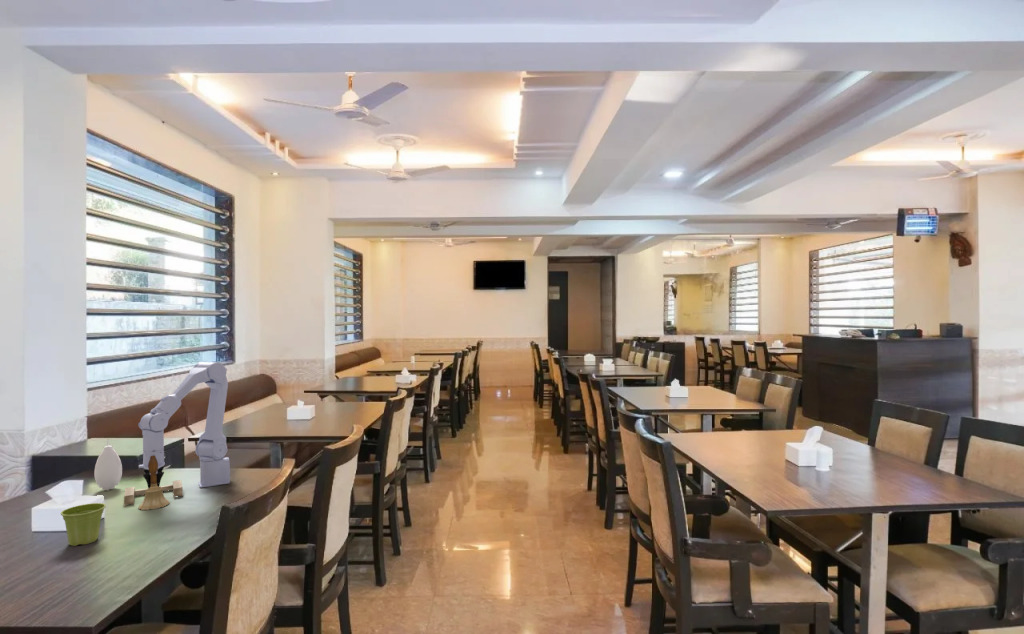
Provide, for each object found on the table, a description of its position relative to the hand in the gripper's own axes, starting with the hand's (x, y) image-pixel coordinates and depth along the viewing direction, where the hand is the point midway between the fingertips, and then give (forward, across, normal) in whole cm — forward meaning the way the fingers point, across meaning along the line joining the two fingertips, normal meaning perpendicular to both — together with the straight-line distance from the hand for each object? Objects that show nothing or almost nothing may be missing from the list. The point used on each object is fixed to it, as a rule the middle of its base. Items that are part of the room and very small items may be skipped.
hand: (153, 491), depth 179 cm
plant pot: (+3, +31, -15) cm, 35 cm away
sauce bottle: (+3, -26, -14) cm, 29 cm away
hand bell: (+3, +7, 0) cm, 7 cm away
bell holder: (+3, -5, 0) cm, 6 cm away
